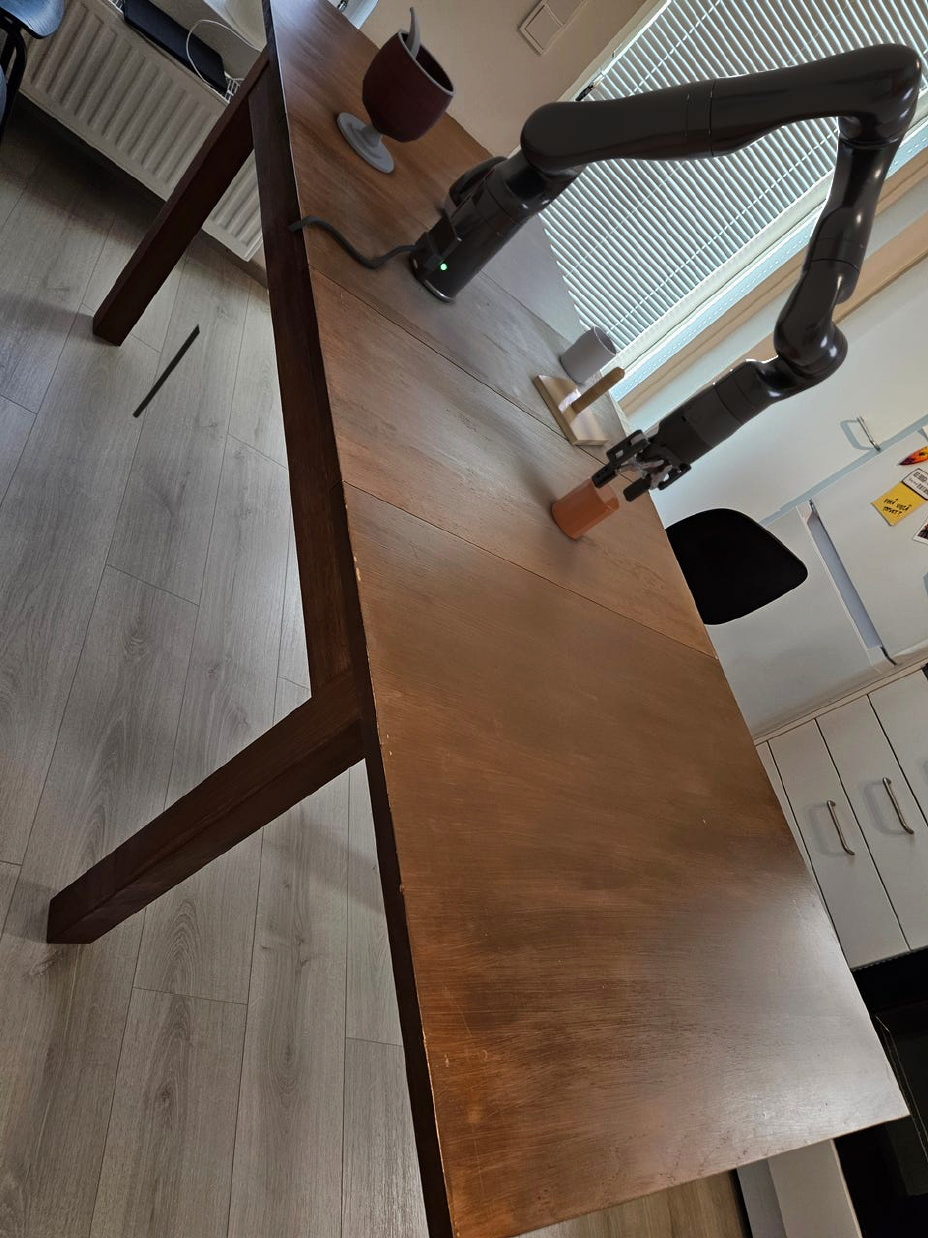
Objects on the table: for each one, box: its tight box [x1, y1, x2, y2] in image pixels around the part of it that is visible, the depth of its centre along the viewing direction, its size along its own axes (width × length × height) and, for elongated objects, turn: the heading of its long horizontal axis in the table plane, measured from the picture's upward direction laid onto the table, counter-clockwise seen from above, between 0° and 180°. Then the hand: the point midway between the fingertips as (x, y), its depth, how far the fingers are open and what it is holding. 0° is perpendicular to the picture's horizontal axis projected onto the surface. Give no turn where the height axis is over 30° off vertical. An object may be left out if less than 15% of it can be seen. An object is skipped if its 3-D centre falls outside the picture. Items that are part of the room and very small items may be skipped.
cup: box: [560, 325, 618, 384], centre depth 160 cm, size 7×10×9 cm
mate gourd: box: [336, 6, 457, 174], centre depth 137 cm, size 16×14×20 cm
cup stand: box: [532, 365, 626, 446], centre depth 145 cm, size 14×14×13 cm
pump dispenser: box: [443, 155, 509, 214], centre depth 152 cm, size 10×10×15 cm
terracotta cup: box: [551, 475, 620, 540], centre depth 122 cm, size 6×6×8 cm
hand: (610, 490), depth 120 cm, fingers open, 8 cm apart
